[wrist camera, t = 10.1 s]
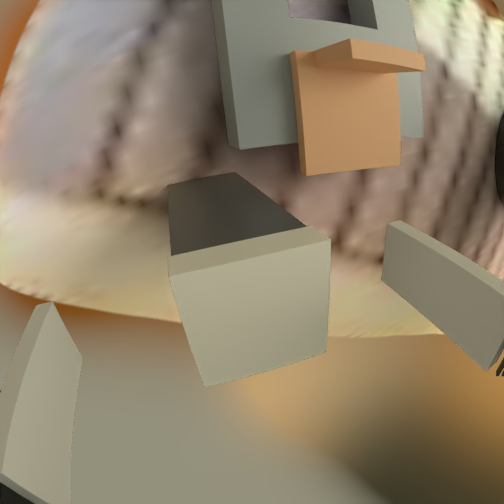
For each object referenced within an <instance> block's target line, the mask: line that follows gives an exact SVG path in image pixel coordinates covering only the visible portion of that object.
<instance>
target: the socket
mask: <svg viewBox="0 0 504 504" xmlns="http://www.w3.org/2000/svg"><path fill="white" fill-rule="evenodd" d="M211 3H212V12H213V21H214V29H215V38H216V47H217V55H218V63H219V72H220V80H221V88H222V97H223V105H224V113H225V121H226V129H227V137H228V145H229V146H231V147H233V148H236V149H239V150H243V149H250V148H257V147H265V146H273V145H282V144H291V143H298V132H297V120H296V109H295V99H294V89H293V80H292V71H291V63H290V54H289V53H291V52H293V51H295V50H300V51H315V50H318V49H321V48H323V47H326V46H329V45H332V44H335V43H338V42H340V41H343V40H347V39H350V38H351V39H357V40H363V41H369V42H374V43H379V44H384V45H389V46H393V47H398V48H402V49H406V50H410V51H414V52H417V53H418V51H417V44H416V38H415V31H414V26H413V20H412V15H411V10H410V6H409V1H408V0H347V3H348V8H349V14H350V19H351V24H345V23H339V22H332V21H324V20H316V19H306V18H293V17H290V13H289V6H288V0H211ZM397 81H398V93H399V109H400V138H423V105H422V89H421V77H420V71H418V72H400V73H397Z"/></svg>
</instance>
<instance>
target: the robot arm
mask: <svg viewBox="0 0 504 504" xmlns="http://www.w3.org/2000/svg"><path fill="white" fill-rule="evenodd" d="M496 181H497V188H498V193H499V196H500V199H501V201H502V202H503V204H504V116H503V118H502V121H501V125H500V129H499V134H498V140H497V149H496ZM381 280H382V281H383V282H384V283H386V284H387V285H388V286H389V287H391V288H392V289H393V290H394V291H395V292H397V293H398V294H399V295H400V296H401V297H403V298H404V299H405V300H406V301H407V302H409V303H410V304H411V305H412V306H413V307H415V308H416V309H417V310H418V311H419V312H420V313H422V314H423V315H424V316H425V317H426V318H427V319H428V320H430V321H431V322H432V323H433V324H434V325H435V326H437V327H438V328H439V329H440V330H441V331H442V332H443V333H444V334H446V335H447V336H448V337H449V338H450V339H451V340H452V341H454V343H456V344H457V345H458V346H459V347H460V348H461V349H462V350H463V351H464V352H465V353H467V354H468V355H469V356H470V357H471V358H472V359H473V360H474V361H475V362H476V363H477V364H478V365H479V366H480V367H481V368H482V369H483V370H484V371H487V370H488V369H489V368H490V367H492V366H493V365H494V364H495V363H496V362H497V360H498V358H499V357H500V355H501V353H502V351H503V349H504V281H502V280H501V279H499V278H498V277H496V276H495V275H493V274H492V273H490V272H489V271H487V270H486V269H484V268H483V267H481V266H479V265H478V264H476V263H475V262H473V261H471V260H470V259H468V258H466V257H465V256H463V255H462V254H460V253H458V252H457V251H455V250H453V249H451V248H450V247H448V246H446V245H445V244H443V243H441V242H439V241H438V240H436V239H434V238H432V237H431V236H429V235H427V234H425V233H423V232H421V231H420V230H418V229H416V228H414V227H412V226H410V225H408V224H407V223H405V222H403V221H401V220H398V221H394V222H390V223H387V231H386V242H385V251H384V260H383V268H382V276H381ZM82 361H83V357H82V355H81V354H80V352H79V350H78V348H77V347H76V345H75V343H74V341H73V340H72V338H71V336H70V334H69V333H68V331H67V329H66V327H65V325H64V323H63V322H62V319H61V318H60V315H59V313H58V311H57V310H56V308H55V305H54V303H53V302H48V303H44V304H40V305H36V307H35V309H34V311H33V313H32V315H31V318H30V320H29V322H28V324H27V326H26V328H25V330H24V333H23V335H22V337H21V339H20V342H19V344H18V347H17V349H16V351H15V354H14V357H13V359H12V361H11V364H10V367H9V370H8V372H7V375H6V377H5V380H4V383H3V386H2V389H1V391H0V504H71V503H70V470H71V447H72V434H73V423H74V414H75V405H76V398H77V391H78V384H79V378H80V372H81V366H82ZM503 368H504V358H503V360H502V362H501V364H500V366H499V367H498V369H497V371H496V376H499V374H500V373H501V371H502V369H503ZM502 376H504V371H503V373H502Z"/></svg>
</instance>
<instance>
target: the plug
mask: <svg viewBox="0 0 504 504" xmlns="http://www.w3.org/2000/svg"><path fill="white" fill-rule="evenodd" d="M168 207H169V228H170V245H171V256H169V257H168V276H169V280H170V284H171V287H172V291H173V294H174V297H175V301H176V304H177V307H178V311H179V314H180V317H181V320H182V323H183V327H184V330H185V333H186V336H187V339H188V342H189V345H190V348H191V351H192V354H193V357H194V359H195V362H196V365H197V368H198V370H199V374H200V376H201V379H202V382H203V385H204V387H209V386H213V385H217V384H221V383H225V382H229V381H233V380H237V379H241V378H244V377H248V376H252V375H256V374H259V373H262V372H266V371H269V370H273V369H276V368H279V367H283V366H286V365H289V364H292V363H295V362H298V361H301V360H304V359H307V358H310V357H313V356H316V355H319V354H322V353H324V352H326V344H327V330H328V314H329V294H330V265H331V239H330V238H328V237H327V236H326V235H324V234H323V233H322V232H320V231H319V230H318V229H316V228H315V227H314V226H313V225H312V226H308V227H307V226H305V225H304V224H303V223H302V222H300V221H299V220H298V219H297V218H295V217H294V216H293V215H291V214H290V213H289V212H287V211H286V210H285V209H284V208H282V207H281V206H280V205H278V204H277V203H276V202H274V201H273V200H272V199H270V198H269V197H268V196H266V195H265V194H264V193H262V192H261V191H260V190H258V189H257V188H256V187H254V186H253V185H252V184H250V183H249V182H248V181H246V180H245V179H244V178H242V177H241V176H239V175H238V174H237V173H235V172H233V173H228V174H222V175H216V176H211V177H206V178H200V179H195V180H190V181H185V182H180V183H176V184H171V185H168Z"/></svg>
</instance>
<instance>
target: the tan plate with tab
mask: <svg viewBox="0 0 504 504" xmlns="http://www.w3.org/2000/svg"><path fill="white" fill-rule="evenodd" d="M289 54H290V63H291V71H292V80H293V89H294V99H295V109H296V120H297V132H298V144H299V158H300V172H301V174H303V175H305V176H311V175H318V174H326V173H334V172H342V171H351V170H360V169H370V168H380V167H391V166H400V161H401V139H400V109H399V93H398V81H397V73H400V72H418V71H426V68H425V59H424V54H421V53H417V52H414V51H410V50H406V49H402V48H398V47H393V46H389V45H384V44H379V43H374V42H369V41H363V40H357V39H351V38H350V39H347V40H343V41H340V42H338V43H335V44H332V45H329V46H326V47H323V48H321V49H318V50H315V51H300V50H295V51H293V52H291V53H289Z"/></svg>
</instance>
